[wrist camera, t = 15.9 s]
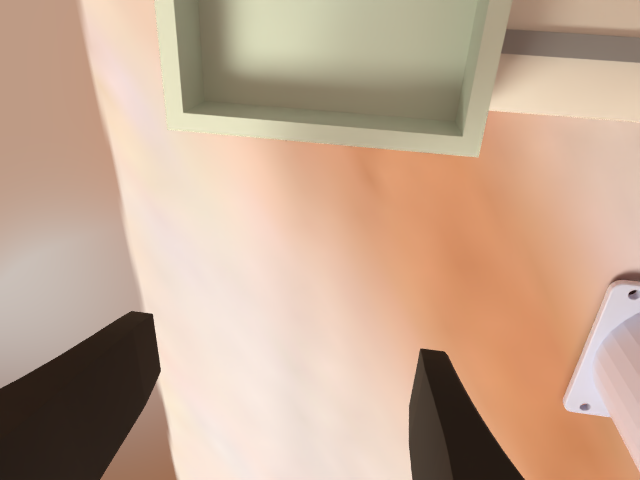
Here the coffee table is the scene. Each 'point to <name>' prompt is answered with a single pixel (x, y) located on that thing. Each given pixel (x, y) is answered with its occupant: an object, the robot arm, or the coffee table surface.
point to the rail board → (571, 60)
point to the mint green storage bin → (334, 70)
